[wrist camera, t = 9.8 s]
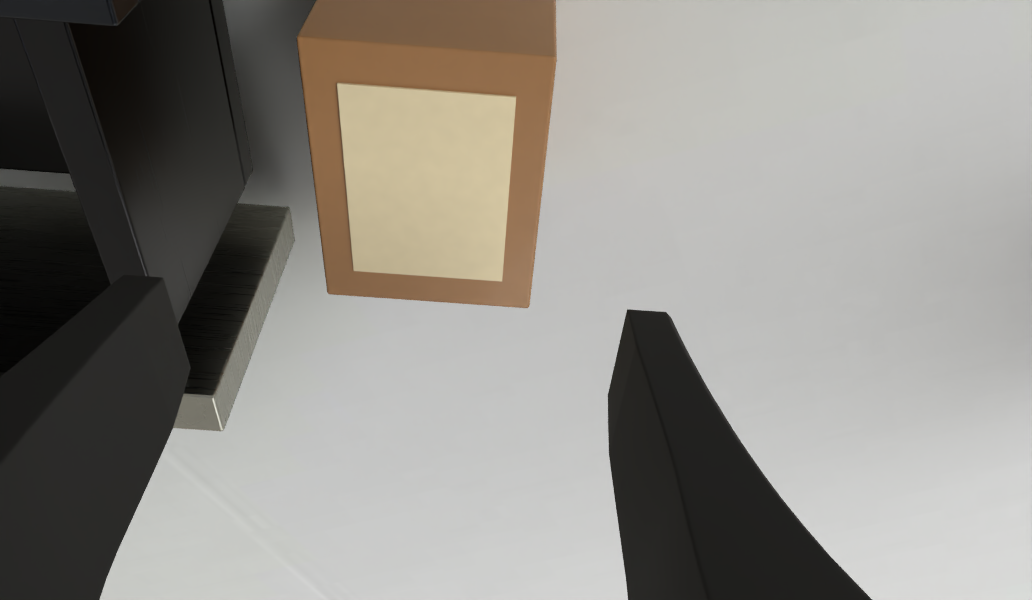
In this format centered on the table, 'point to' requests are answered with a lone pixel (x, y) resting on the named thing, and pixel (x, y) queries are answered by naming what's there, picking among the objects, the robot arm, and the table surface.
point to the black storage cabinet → (69, 10)
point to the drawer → (136, 187)
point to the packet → (429, 144)
